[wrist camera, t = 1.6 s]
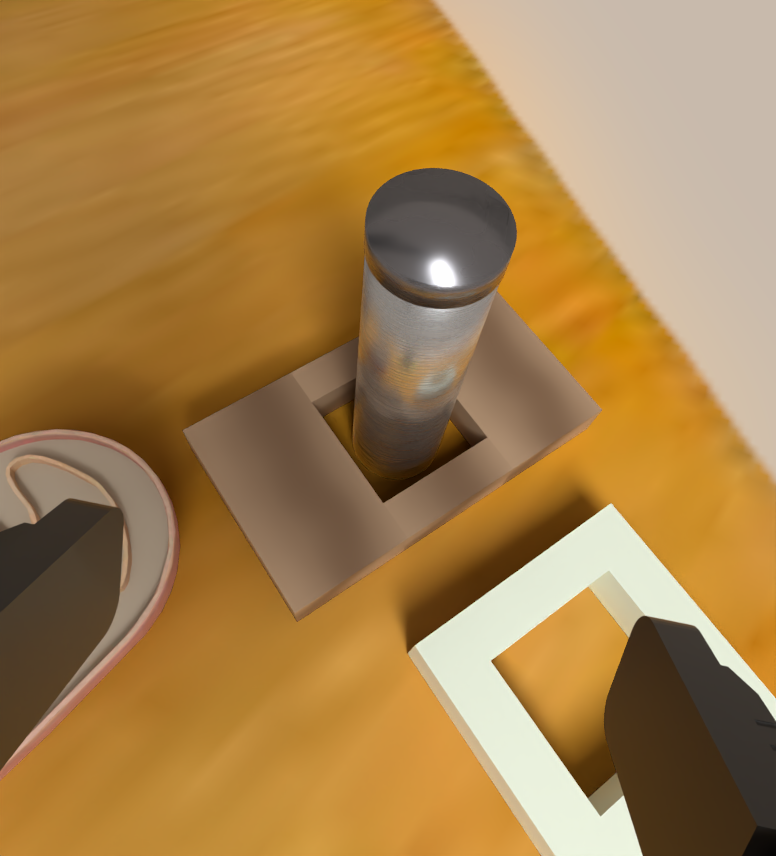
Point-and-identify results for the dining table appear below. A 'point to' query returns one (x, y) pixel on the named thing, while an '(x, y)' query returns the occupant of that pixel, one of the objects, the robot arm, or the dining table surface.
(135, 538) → the anatomical model
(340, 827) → the dining table surface
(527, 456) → the brown rectangular frame
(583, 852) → the white square frame
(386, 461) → the silver metal cylinder
